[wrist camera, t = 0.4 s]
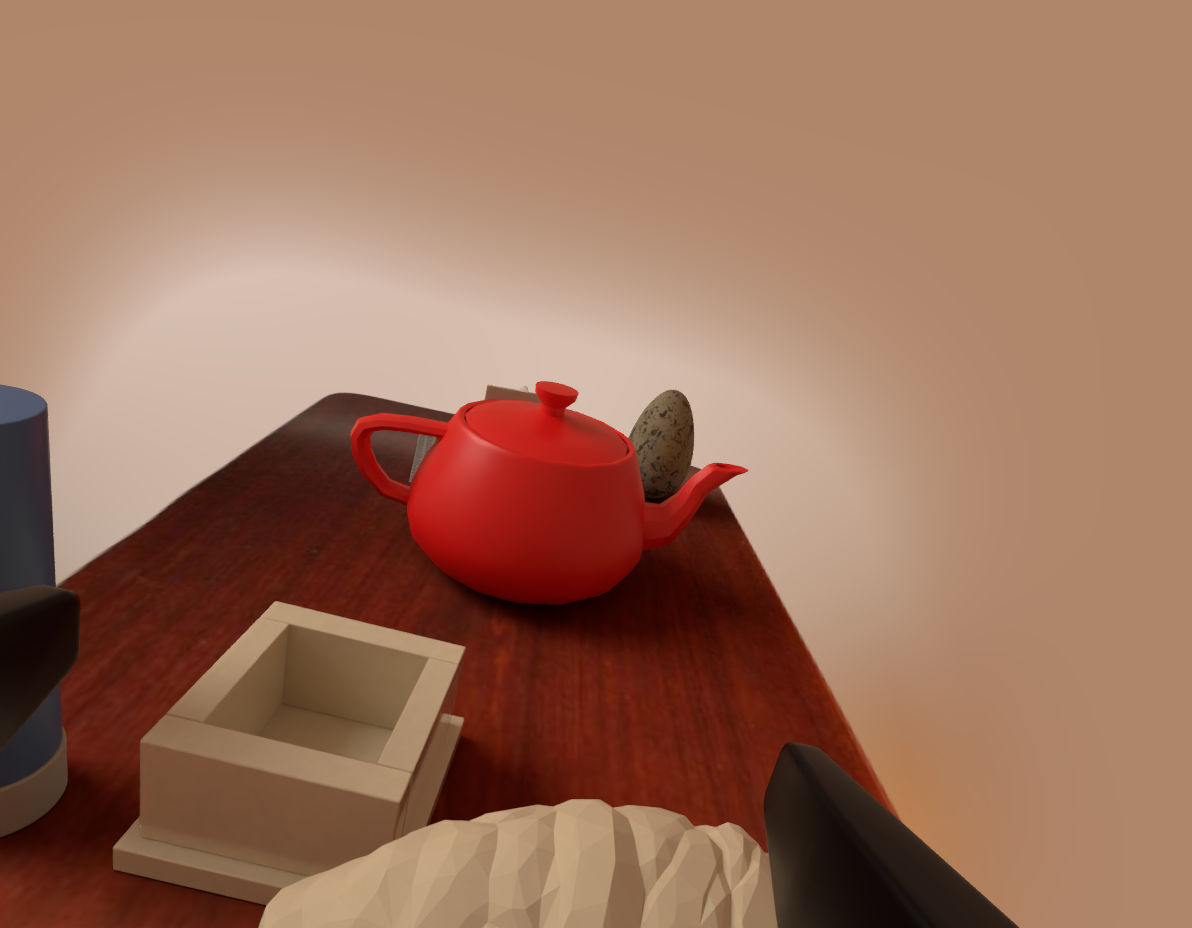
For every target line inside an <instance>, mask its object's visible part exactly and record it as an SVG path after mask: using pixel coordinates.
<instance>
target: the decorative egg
mask: <svg viewBox="0 0 1192 928" xmlns="http://www.w3.org/2000/svg"><path fill="white" fill-rule="evenodd" d="M628 439H629V440H630V441H632V443H633V445H634V447H635V451H636V455H637V460H638V464H639V469H640V474H641V480H642V485H643V489H644V496H645V497H646V498H652V499H655V498H662V497H665V496H667V495H669V494H671V493H672V492H674V491H675V490H676V489H677V488H678V487H679V486H680V485H681V484H682V482H683V481H684V479H685V477H686V476H687V473H688V471H689V468H690V465H691V460H692V455H693V446H694V424H693V417H692V411H691V408H690V405H689V402H688V400H687V398H686V397H685V396H684V395H683V394H682V393H681V392H679V391H677V390H668V391H665V392H663V393H662V394H660V395H659V396H657V397H656V398H655V399H654V400H653V401H652V402H651V403H650V404H649V405H648V406H647V408H646V409H645V410H644V411H643V413H642V414H641V416H640V417H639V419H638V421H637V422H636V424H635V426H634V427H633V429H632V431H631V434H630V436H629V438H628Z"/></svg>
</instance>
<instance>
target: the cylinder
mask: <svg viewBox="0 0 1192 928" xmlns="http://www.w3.org/2000/svg"><path fill="white" fill-rule="evenodd" d="M35 585H46V586H51V587H56V583H55V561H54V539H53V517H52V495H51V474H50V451H49V430H48V407H47V403H46V401H45V400H44V399H43V398H42V397H41V396H39V395H37V394H35V393H33V392H30V391H27V390H23V389H20V388H16V387H11V386H5V385H0V592H4V591H9V590H14V589H20V588H25V587H30V586H35ZM67 782H68V766H67V743H66V732H65V729H64V728H63V726H62V715H61V693H60V683H59V685H58V686H57V687H56V688H55V689H54V690H53V692H52V693H51V694H50V695H49V696H48V697H47V699H46V700H45V701H44V702H43V703H42V704H41V705H40V707H39V708H38V709H37V710H36V711H35V712H34V714H33V715H32V716H31V717H30V718H29V719H28V721H27V722H26V723H25V724H24V725H23V726H22V728H21V729H20V730H19V731H18V732H17V733H16V734H15V736H14V737H13V738H12V739H11V740H10V741H9V743H8V744H7V745H6V746H5V747H4V748H3V750H2V751H1V752H0V837H3V836H6V835H9V834H11V833H14V832H16V831H18V830H20V829H22V828H24V827H26V826H28V825H30V824H31V823H33V822H35V821H36V820H38V819H39V818H40V817H42V816H43V815H44V814H46V813H47V812H48V811H49V810H50V809H51V808H52V807H53V806H54V805H55V804H56V803H57V802H58V800H59V799H60V798H61V796H62V794H63V793H64V791H65V789H66V786H67Z"/></svg>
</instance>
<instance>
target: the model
mask: <svg viewBox="0 0 1192 928" xmlns="http://www.w3.org/2000/svg"><path fill="white" fill-rule="evenodd" d="M259 928H777V920H776V913H775V905H774V896H773V888H772V879H771V870H770V862H769V853H764V852H763V850H762V849H761V847H760V846H759V844H758V843H757V842H756V841H755V840H754V839H753V838H751V837H750V836H749V835H748V834H747V833H746V832H745V831H744V830H743V829H742V828H741V827H740V826H738V825H734V824H731V823H725V824H723V825H720V826H717V827H712V826H707V825H703V826H696V827H694V826H693V825H692V824H691V822H690V821H689V820H688V819H687V818H686V817H685V816H683V815H680V814H677V813H674V812H671V811H668V810H665V809H662V808H655V807H645V806H634V805H627V806H622V807H616V808H612V807H611V806H609V805H608V804H606V803H605V802H603V801H602V800H600V799H571V800H569V801H566V802H564V803H561V804H559V805H556V806H554V807H553V806H544V805H533V806H527V807H521V808H515V809H510V810H504V811H498V812H493V813H487V814H484V815H482V816H480V817H477V818H475V819H473V820H470V821H462V820H459V821H455V820H443V821H440V822H438V823H435V824H432V825H429V826H427V827H424V828H421V829H418V830H416V831H413V832H411V833H409V834H408V835H406V836H404V837H402V838H399V839H397V840H394V841H392V842H390V843H387V844H385V845H383V846H381V847H379V848H378V849H377V850H375V851H374V852H372V853H371V854H369V855H367V856H364V857H360V858H357V859H354V860H351V861H349V862H347V863H344V864H342V865H340V866H337V867H335V868H333V869H331V870H328V871H325V872H322V873H319V874H316V875H313V876H310V877H307V878H305V879H303V880H301V881H298V882H296V883H294V884H292V885H289V886H287V887H285V888H283V889H281V890H280V891H279V892H278V894H277V895H276V896H275V897H274V898H273V899H272V900H271V901H270V902H269V903H268V904H267V905H266V908H265V911H264V913H263V916H262V919H261V921H260V925H259Z"/></svg>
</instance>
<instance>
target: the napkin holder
mask: <svg viewBox="0 0 1192 928" xmlns="http://www.w3.org/2000/svg"><path fill="white" fill-rule="evenodd" d="M488 399H515V400H523V401H530V402H536V403H541V400H540V399H539V397H538V395H537V394H536V393H530V392H528V388H527V387H526V386H524V387H523V388H521V389H520V390H514V389H508V388H503V387H497V386H492V385H487V391H486V396H485V400H488Z"/></svg>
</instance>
